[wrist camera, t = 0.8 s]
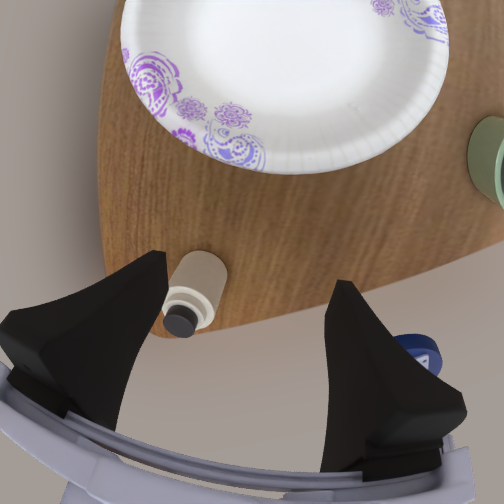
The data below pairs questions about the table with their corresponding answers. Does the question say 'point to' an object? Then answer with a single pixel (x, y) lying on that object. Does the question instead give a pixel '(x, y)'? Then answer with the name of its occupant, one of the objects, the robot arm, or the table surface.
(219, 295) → the small bottle
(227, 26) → the paper bowls
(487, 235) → the table surface
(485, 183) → the green jar
